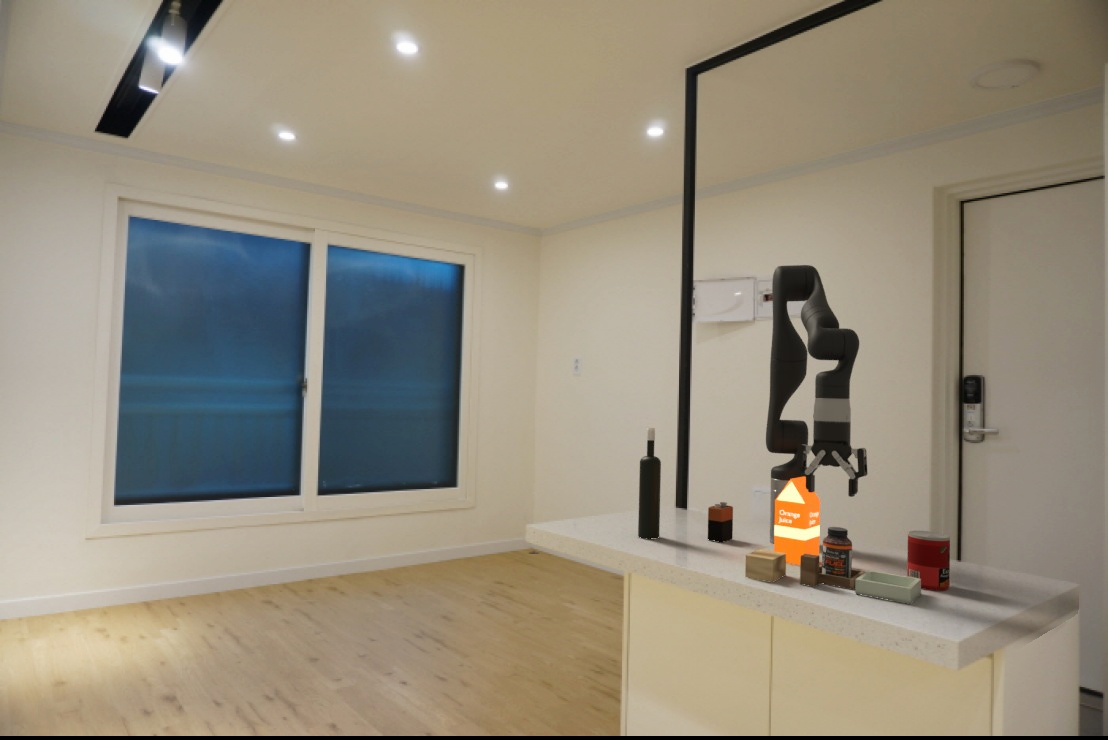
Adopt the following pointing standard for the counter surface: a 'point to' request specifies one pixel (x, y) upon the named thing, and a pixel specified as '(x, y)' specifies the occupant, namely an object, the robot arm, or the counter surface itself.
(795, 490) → the orange juice
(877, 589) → the tray
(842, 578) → the frame
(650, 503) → the wine bottle
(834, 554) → the supplement bottle
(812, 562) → the post
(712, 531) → the battery
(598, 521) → the counter surface
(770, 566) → the natural wood cube
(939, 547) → the canned food
